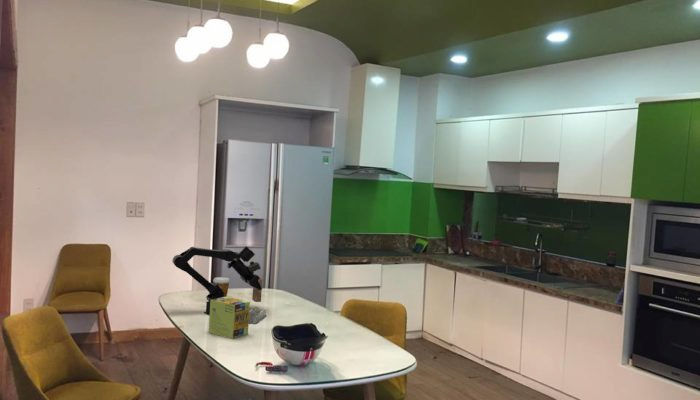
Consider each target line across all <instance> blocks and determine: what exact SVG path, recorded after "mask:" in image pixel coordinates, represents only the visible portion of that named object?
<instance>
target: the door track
mask: <svg viewBox="0 0 700 400" xmlns="http://www.w3.org/2000/svg"><path fill="white" fill-rule="evenodd" d="M266 313H267V308H263V309H262V310H260V311H259V312H257V313H256V307H253V308H251V309H249V325H257V324H258V323H259V322H260V321H262V320H263V319H265V318H266V317H267V314H266Z"/></svg>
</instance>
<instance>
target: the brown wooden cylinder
mask: <svg viewBox="0 0 700 400" xmlns="http://www.w3.org/2000/svg"><path fill="white" fill-rule="evenodd" d="M230 282H231V281H230V278H229V277H224V276H219V277H218V276H217V277H214V279H213V284H214V283H216V284H217V285H218V286H220V287H221V288H222V289H223V292H224V297H228V291H229V285H230Z"/></svg>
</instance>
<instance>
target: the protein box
mask: <svg viewBox="0 0 700 400" xmlns="http://www.w3.org/2000/svg"><path fill="white" fill-rule="evenodd" d="M250 304H251V301H248V300H245V299H244V300H243V299H239V298H234V297H230V296H227V297H222V298H216V299H211V300H210V315H209V318H208V333H209V334H213V335H217V336H221V337H224V338H229V339H232V340H234V339H237V338H240V337H244V336H248V335H249V325H250V324H249V311H250V306H251V305H250Z"/></svg>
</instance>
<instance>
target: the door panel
mask: <svg viewBox="0 0 700 400" xmlns="http://www.w3.org/2000/svg"><path fill="white" fill-rule="evenodd" d="M258 282H259V284H260V285H261V287H262V288H263V279H262V278H261V277H260V279H259V280H258ZM262 290H263V289H262ZM262 290H259V289H257V288H255V287H252V299H251V300H252V301H253V302H255V303H261V302H262V292H263V291H262Z"/></svg>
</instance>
